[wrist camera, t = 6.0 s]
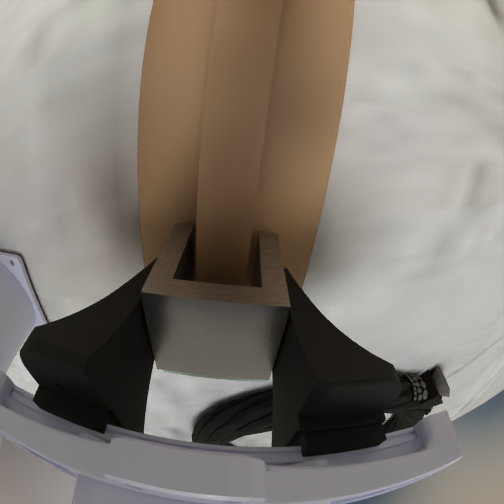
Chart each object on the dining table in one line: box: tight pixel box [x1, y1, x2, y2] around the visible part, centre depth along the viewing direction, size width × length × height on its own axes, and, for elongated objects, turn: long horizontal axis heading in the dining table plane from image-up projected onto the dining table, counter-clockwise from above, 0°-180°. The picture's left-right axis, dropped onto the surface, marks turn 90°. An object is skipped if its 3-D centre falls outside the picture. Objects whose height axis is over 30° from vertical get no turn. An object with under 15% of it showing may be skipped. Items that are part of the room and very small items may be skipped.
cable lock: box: [192, 367, 450, 446], centre depth 24 cm, size 28×4×30 cm
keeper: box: [141, 224, 291, 380], centre depth 11 cm, size 4×4×5 cm
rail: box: [138, 0, 355, 382], centre depth 9 cm, size 8×22×4 cm, turn 173°
